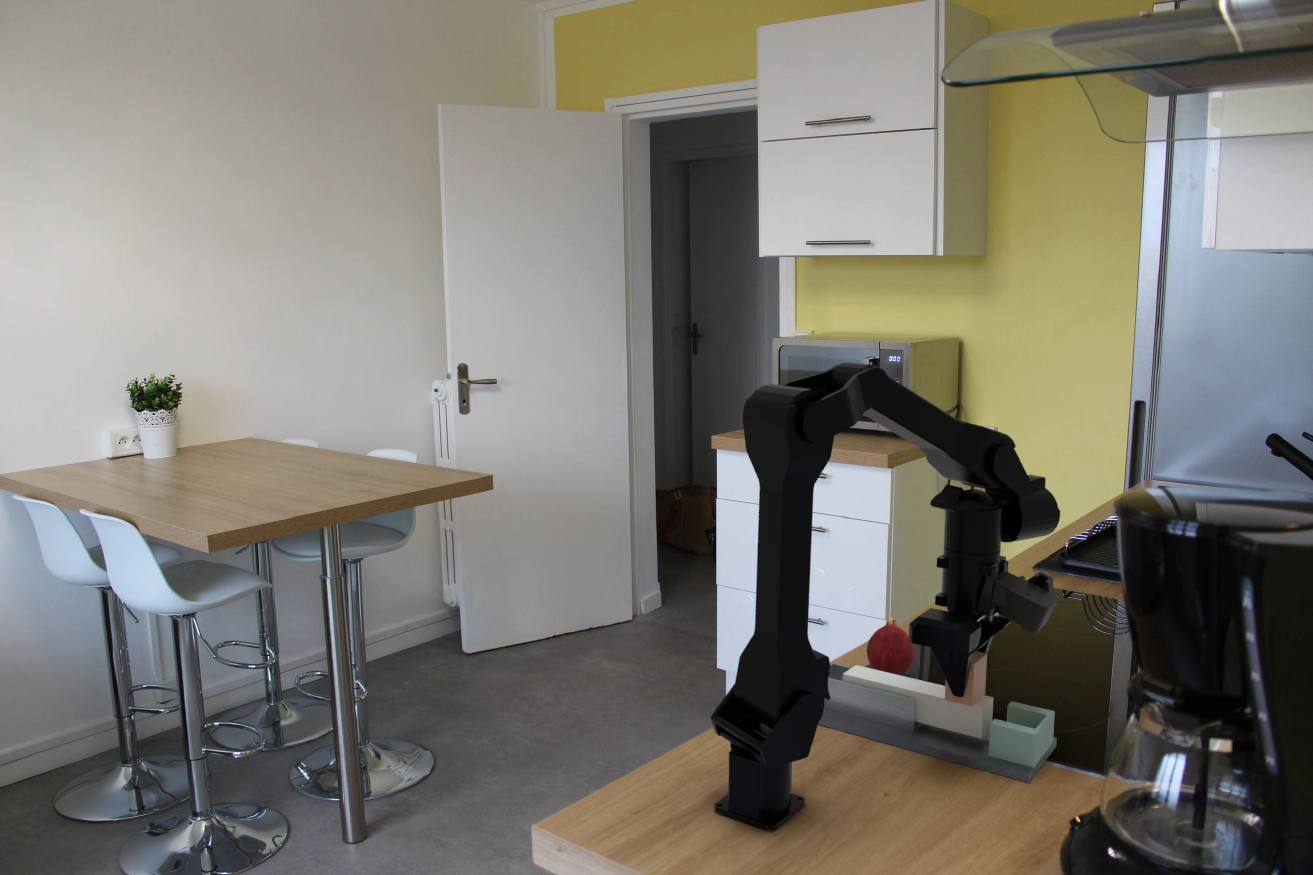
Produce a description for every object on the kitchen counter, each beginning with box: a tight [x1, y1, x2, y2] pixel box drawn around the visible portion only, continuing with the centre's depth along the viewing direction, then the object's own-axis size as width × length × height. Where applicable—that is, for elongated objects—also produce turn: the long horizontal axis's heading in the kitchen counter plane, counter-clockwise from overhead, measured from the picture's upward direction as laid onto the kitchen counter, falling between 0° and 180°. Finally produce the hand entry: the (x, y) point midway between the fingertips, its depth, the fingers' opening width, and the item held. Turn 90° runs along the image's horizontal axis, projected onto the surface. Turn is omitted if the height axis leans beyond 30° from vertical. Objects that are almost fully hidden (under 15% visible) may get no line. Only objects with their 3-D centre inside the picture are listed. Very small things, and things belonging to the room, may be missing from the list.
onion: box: [866, 617, 915, 676], centre depth 126 cm, size 6×6×8 cm
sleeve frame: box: [818, 662, 1058, 784], centre depth 111 cm, size 10×26×4 cm, turn 54°
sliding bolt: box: [843, 651, 994, 738], centre depth 111 cm, size 4×16×8 cm, turn 54°
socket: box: [989, 701, 1056, 768], centre depth 105 cm, size 7×4×4 cm, turn 144°
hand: (965, 689), depth 108 cm, fingers closed on sliding bolt, 4 cm apart
